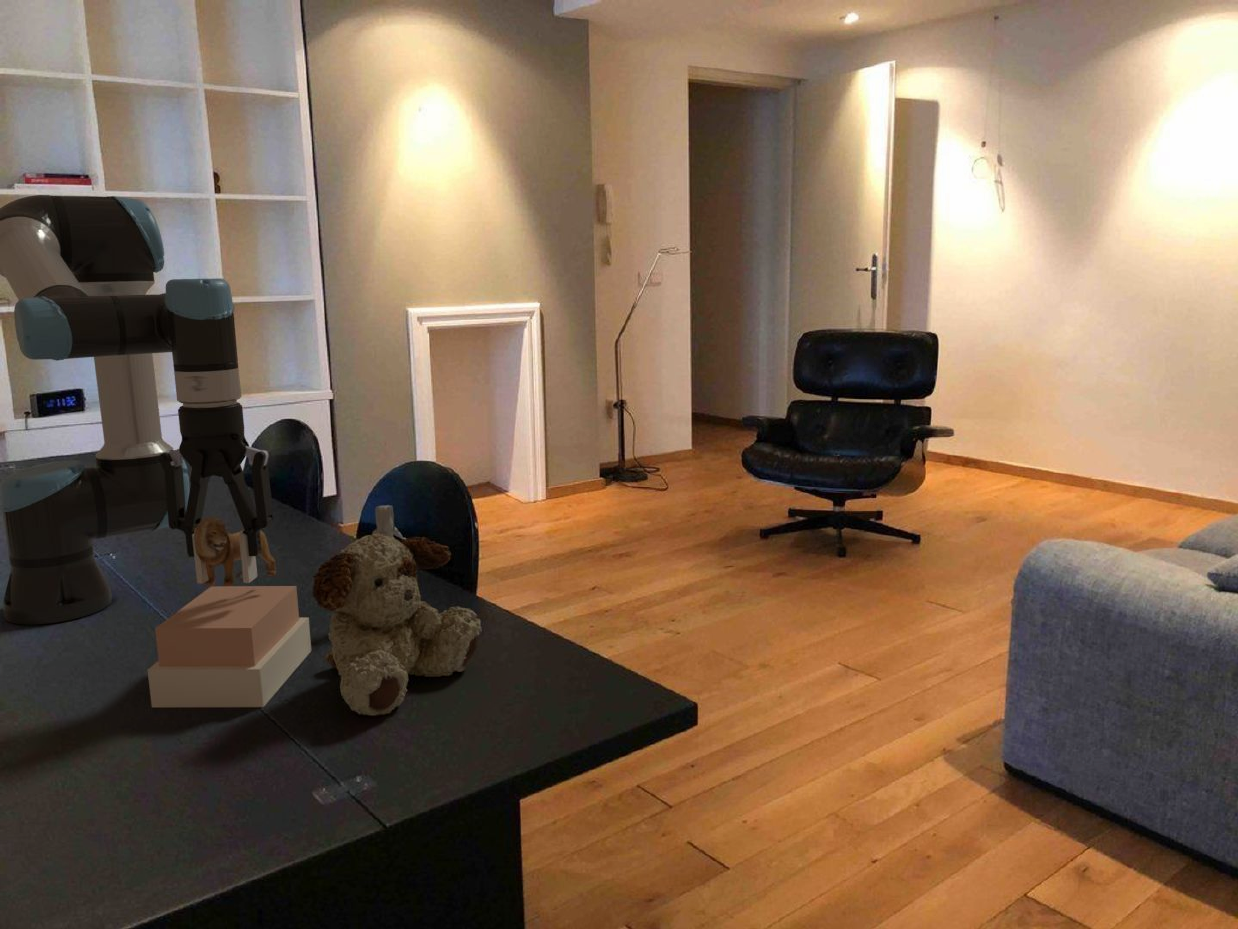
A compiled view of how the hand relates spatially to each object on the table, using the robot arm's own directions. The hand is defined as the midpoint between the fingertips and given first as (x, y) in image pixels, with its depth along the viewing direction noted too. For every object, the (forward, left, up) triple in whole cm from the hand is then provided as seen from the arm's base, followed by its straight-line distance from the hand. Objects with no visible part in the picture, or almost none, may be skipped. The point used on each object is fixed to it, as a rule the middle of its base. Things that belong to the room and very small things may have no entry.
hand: (227, 579), depth 127 cm
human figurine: (+15, +22, -14) cm, 30 cm away
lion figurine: (+1, +1, -1) cm, 1 cm away
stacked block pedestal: (0, 0, -14) cm, 14 cm away
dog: (+20, -1, -14) cm, 24 cm away
